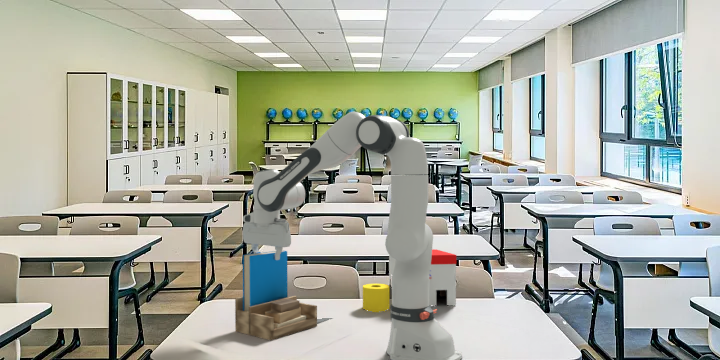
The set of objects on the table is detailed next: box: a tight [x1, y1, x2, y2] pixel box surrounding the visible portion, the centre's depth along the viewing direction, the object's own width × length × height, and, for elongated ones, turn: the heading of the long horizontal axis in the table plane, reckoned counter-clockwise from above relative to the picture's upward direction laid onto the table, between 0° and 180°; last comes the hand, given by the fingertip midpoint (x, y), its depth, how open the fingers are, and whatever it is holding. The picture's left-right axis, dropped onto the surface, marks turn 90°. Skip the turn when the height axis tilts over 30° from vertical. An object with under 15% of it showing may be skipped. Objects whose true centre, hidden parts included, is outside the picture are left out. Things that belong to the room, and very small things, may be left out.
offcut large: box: [274, 315, 306, 329], centre depth 195 cm, size 7×14×3 cm, turn 145°
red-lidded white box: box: [388, 248, 457, 307], centre depth 240 cm, size 21×35×21 cm, turn 5°
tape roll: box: [362, 283, 391, 313], centre depth 221 cm, size 10×10×9 cm
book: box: [242, 250, 289, 312], centre depth 200 cm, size 17×4×25 cm, turn 140°
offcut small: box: [271, 299, 300, 313], centre depth 195 cm, size 5×8×2 cm, turn 139°
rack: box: [234, 295, 318, 341], centre depth 197 cm, size 17×21×11 cm
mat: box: [317, 318, 333, 325], centre depth 213 cm, size 10×20×1 cm, turn 142°
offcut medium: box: [265, 307, 301, 324], centre depth 194 cm, size 6×11×3 cm, turn 149°
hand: (266, 258), depth 199 cm, fingers open, 8 cm apart
